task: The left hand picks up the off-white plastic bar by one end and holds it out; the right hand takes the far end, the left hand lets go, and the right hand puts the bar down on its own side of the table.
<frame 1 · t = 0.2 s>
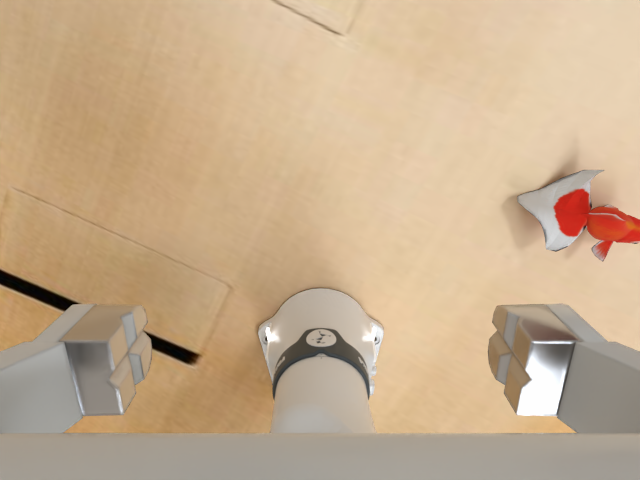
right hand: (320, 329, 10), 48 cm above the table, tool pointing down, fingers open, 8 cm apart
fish: (563, 209, 59), on the table
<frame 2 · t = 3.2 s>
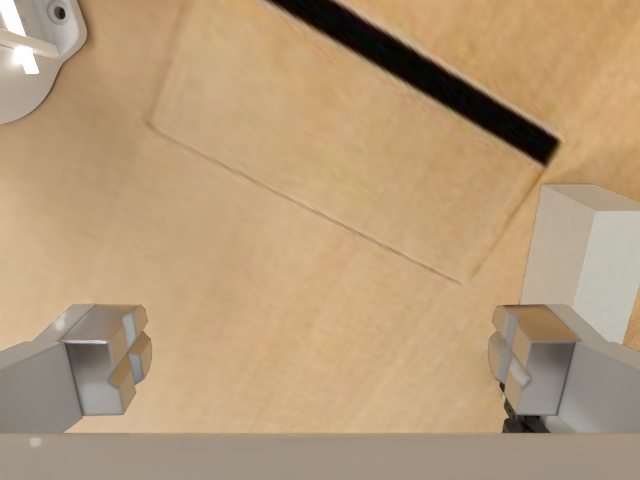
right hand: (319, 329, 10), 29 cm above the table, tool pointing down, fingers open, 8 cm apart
bar: (543, 302, 42), on the table, touching left hand
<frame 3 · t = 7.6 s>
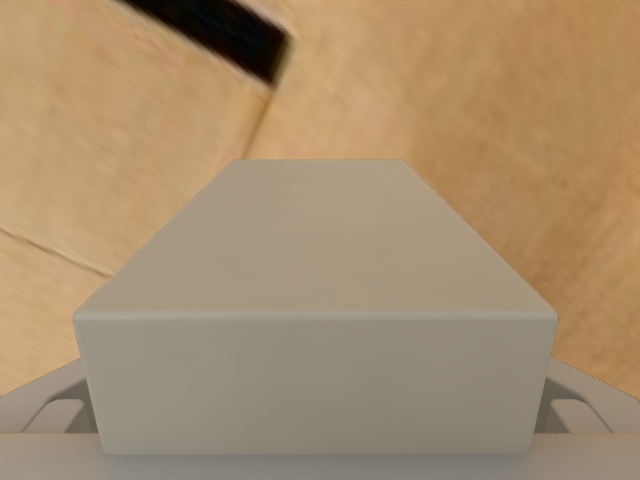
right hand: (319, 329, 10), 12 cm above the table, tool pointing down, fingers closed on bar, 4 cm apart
when the left hand's fingers open (10 cm above the table, at t = 8.4 s): bar stays where it is, held by the right hand.
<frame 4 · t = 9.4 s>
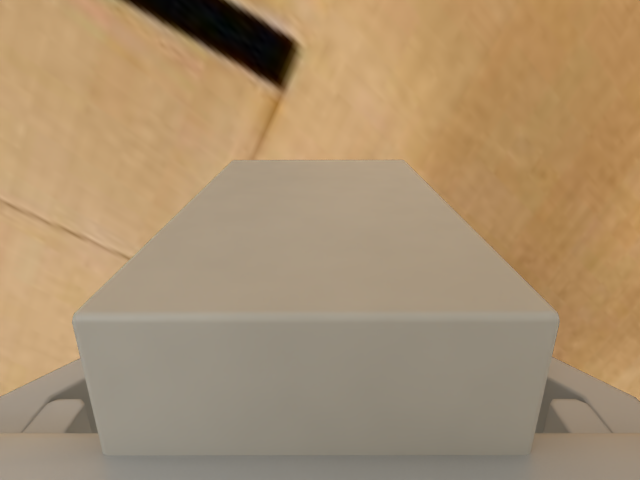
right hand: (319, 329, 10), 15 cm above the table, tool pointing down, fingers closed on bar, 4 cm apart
when the right hand's fingers open (4 cm above the table, at t = 13.0 s): bar stays where it is, on the table.
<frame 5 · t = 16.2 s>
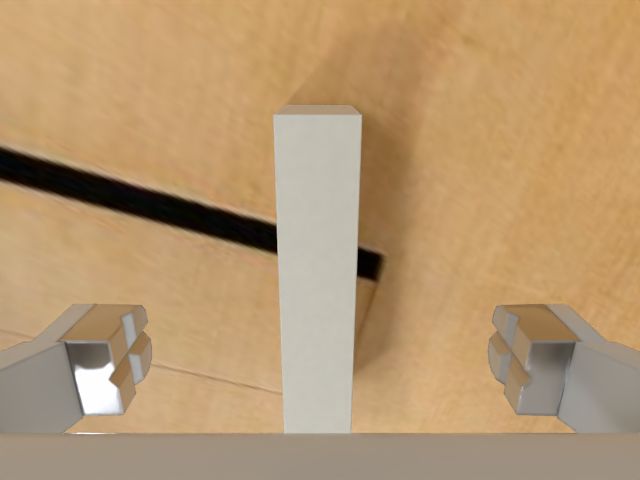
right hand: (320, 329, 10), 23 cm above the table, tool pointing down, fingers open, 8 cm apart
bar: (317, 260, 34), on the table
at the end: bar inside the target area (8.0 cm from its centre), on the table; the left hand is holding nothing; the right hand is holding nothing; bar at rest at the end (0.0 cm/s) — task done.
